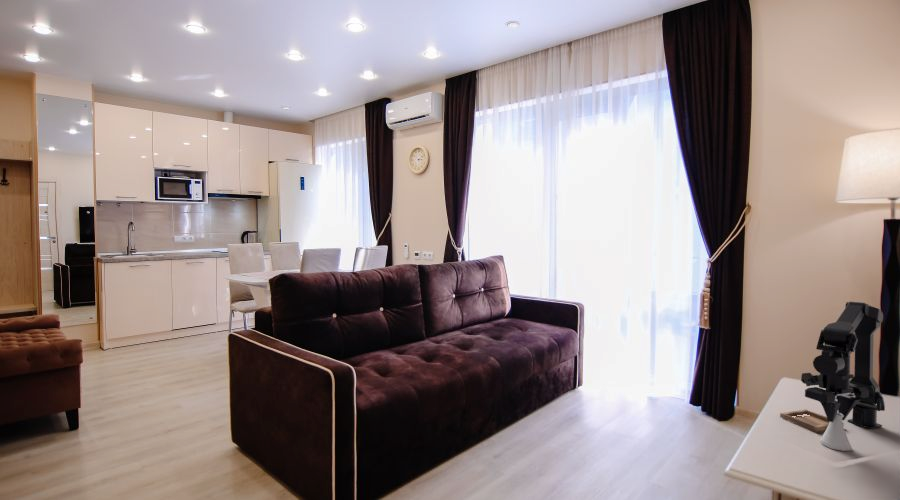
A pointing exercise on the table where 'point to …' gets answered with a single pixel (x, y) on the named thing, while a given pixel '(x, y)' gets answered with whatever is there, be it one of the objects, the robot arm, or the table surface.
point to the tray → (808, 420)
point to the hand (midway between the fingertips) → (836, 420)
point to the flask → (836, 435)
